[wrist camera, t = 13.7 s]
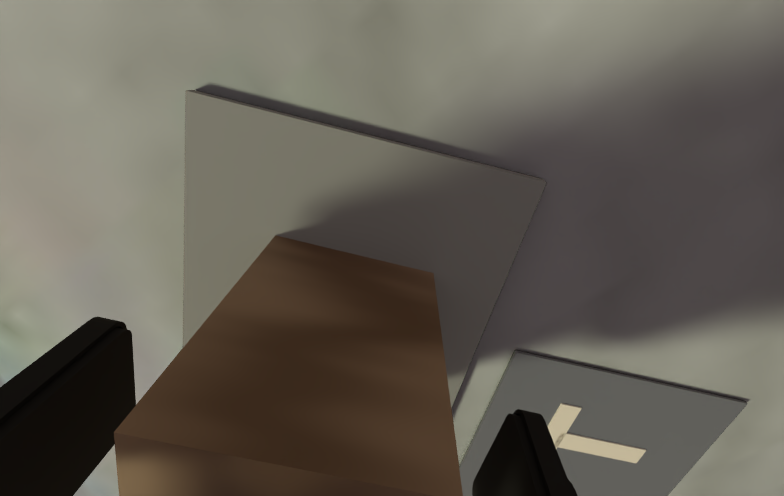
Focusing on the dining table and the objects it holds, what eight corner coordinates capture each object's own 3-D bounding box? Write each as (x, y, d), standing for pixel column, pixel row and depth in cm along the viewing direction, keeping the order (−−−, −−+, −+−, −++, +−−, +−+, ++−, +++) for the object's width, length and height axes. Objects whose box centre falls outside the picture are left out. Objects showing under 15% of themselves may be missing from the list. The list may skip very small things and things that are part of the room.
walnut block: (433, 272, 12) (463, 501, 6) (394, 388, 14) (383, 652, 8) (275, 235, 12) (113, 432, 5) (259, 359, 14) (129, 610, 7)
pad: (542, 178, 11) (546, 182, 11) (427, 453, 16) (428, 461, 16) (193, 89, 10) (185, 90, 10) (187, 404, 15) (182, 412, 15)
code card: (745, 401, 14) (749, 405, 14) (597, 571, 19) (598, 576, 19) (515, 349, 14) (516, 353, 13) (423, 540, 18) (424, 544, 18)
